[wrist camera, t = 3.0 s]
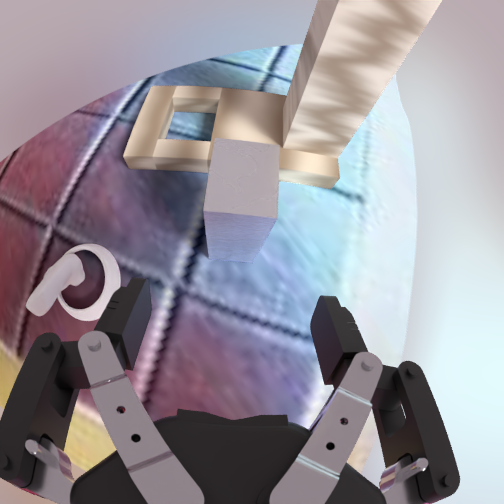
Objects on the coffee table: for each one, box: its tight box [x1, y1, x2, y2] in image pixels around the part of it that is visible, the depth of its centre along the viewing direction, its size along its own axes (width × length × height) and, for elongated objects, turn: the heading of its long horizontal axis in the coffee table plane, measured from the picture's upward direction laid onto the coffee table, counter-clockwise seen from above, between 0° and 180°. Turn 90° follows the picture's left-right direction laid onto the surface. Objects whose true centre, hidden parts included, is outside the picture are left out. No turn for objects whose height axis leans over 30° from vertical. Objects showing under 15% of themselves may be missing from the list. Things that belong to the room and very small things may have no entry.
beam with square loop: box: [123, 0, 442, 189], centre depth 16 cm, size 22×11×26 cm, turn 86°
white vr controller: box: [26, 244, 121, 321], centre depth 19 cm, size 8×12×7 cm
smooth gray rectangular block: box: [203, 138, 279, 263], centre depth 20 cm, size 4×5×11 cm
